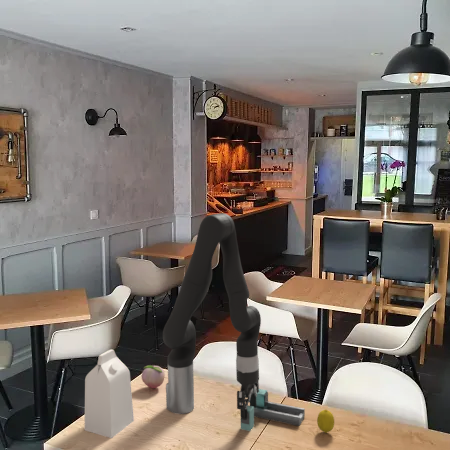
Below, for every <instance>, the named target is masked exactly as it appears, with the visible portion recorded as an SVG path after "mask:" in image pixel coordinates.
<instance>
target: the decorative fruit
mask: <svg viewBox="0 0 450 450" xmlns="http://www.w3.org/2000/svg"><path fill="white" fill-rule="evenodd" d="M142 368H143V369H144V370H142V372H141V380H142V382H143V384H145V385H146V386H147V387H148V388H151V389H156V388H159V387H160V386H162V384H163V383H164V381H165V377H166V376H165V375H166V374H165V370H164V369H163V368H162V367H160V366H159V365H146V366H144V367H142Z"/></svg>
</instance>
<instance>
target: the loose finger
mask: <svg viewBox="0 0 450 450" xmlns="http://www.w3.org/2000/svg"><path fill="white" fill-rule="evenodd" d="M247 413H248V418H247V420H243V419H241V418H240V430H242V431H246V432H247V431H248V432H251V431H252V430H253V428H254V426H255V417H254V406H250V404H248V407H247ZM239 414H240V415H241V413H239ZM251 429H252V430H251Z"/></svg>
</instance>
